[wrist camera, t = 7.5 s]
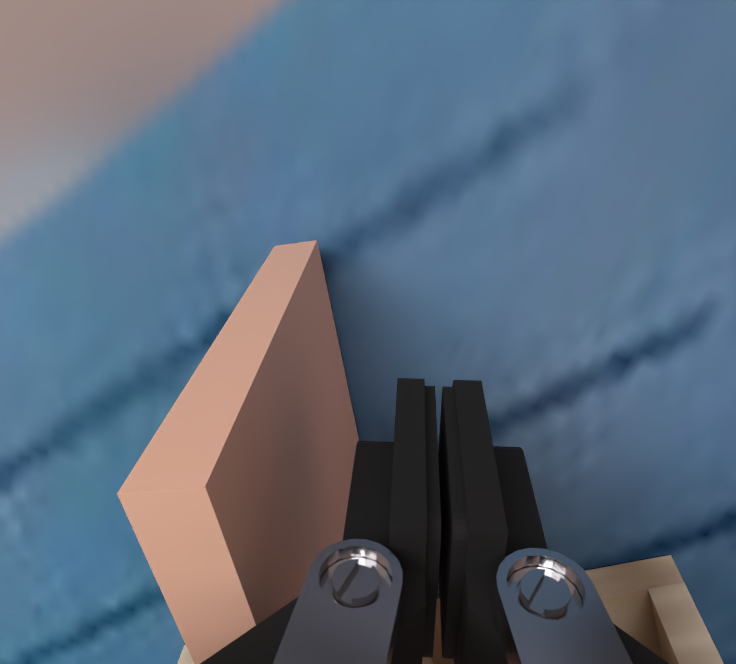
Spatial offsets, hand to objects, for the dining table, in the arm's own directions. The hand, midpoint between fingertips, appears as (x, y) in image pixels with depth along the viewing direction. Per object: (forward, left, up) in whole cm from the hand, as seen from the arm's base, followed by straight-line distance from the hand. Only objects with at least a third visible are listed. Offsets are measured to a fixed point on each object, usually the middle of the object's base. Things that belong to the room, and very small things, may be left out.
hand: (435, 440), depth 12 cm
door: (-5, -4, -6) cm, 8 cm away
